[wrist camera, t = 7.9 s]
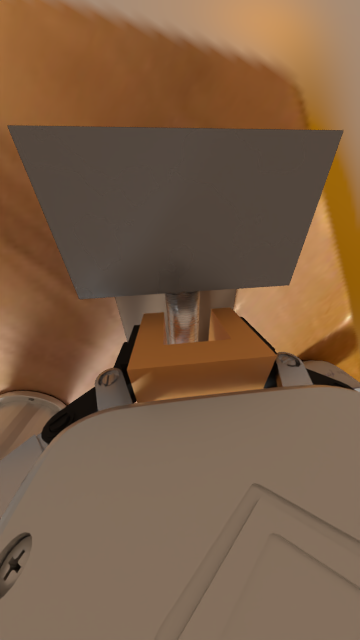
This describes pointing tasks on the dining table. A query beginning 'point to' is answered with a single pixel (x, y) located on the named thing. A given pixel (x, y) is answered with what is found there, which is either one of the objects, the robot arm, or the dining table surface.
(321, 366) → the teacup
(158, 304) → the base board
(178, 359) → the block
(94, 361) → the dining table surface
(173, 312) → the shaft
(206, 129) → the block
